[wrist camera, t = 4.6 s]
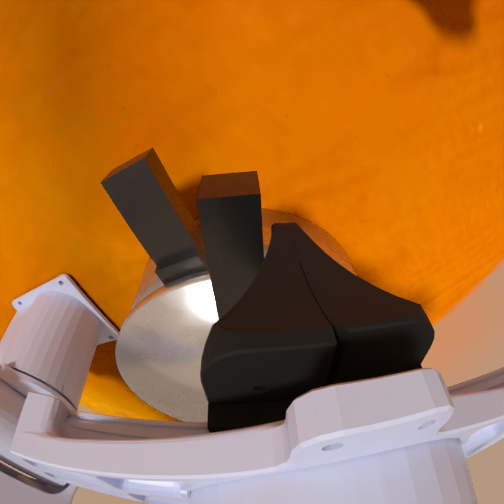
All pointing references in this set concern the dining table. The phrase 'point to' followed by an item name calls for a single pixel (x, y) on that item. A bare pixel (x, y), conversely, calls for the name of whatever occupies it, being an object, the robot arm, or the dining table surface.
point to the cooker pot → (181, 223)
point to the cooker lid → (194, 301)
